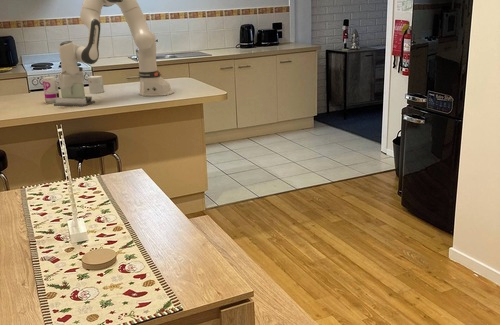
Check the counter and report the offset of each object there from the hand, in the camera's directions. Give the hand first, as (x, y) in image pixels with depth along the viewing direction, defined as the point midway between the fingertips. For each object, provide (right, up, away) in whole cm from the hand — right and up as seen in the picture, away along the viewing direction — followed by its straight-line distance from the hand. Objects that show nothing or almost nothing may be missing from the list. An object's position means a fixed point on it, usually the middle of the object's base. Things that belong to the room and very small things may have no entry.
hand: (73, 93), depth 316 cm
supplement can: (-16, -4, +11) cm, 19 cm away
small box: (+3, +5, +38) cm, 38 cm away
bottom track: (0, -6, +2) cm, 6 cm away
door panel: (0, -4, +1) cm, 4 cm away
